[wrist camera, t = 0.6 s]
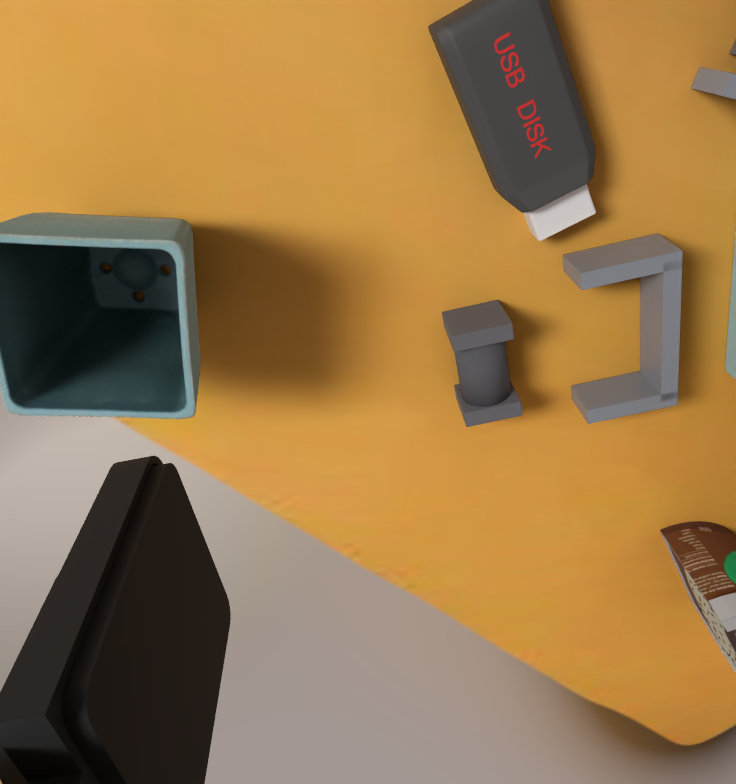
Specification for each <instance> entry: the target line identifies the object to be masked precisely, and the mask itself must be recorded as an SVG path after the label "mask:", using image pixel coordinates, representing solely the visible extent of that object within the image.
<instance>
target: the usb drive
mask: <svg viewBox="0 0 736 784" xmlns="http://www.w3.org/2000/svg"><path fill="white" fill-rule="evenodd" d="M428 28H429V31H430V34H431V36H432V39H433V41H434V44H435V46H436V49H437V51H438V54H439V56H440V58H441V61H442V63H443V66H444V68H445V71H446V73H447V76H448V78H449V80H450V83H451V85H452V88H453V90H454V93H455V95H456V97H457V100H458V102H459V105H460V107H461V110H462V112H463V114H464V117H465V119H466V122H467V124H468V127H469V129H470V131H471V134H472V136H473V139H474V141H475V144H476V146H477V148H478V151H479V153H480V156H481V158H482V161H483V163H484V165H485V168H486V170H487V173H488V175H489V178H490V180H491V182H492V185H493V187H494V189H495V190H496V191H497V192H498V193H499V194H500V195H501V196H502V197H503V198H504V199H505V200H507V201H508V202H509V203H510V204H512V205H513V206H514V207H515V208H517V209H518V210H519V211H521V212H522V213H523V214H524V216H525V219H526V221H527V224H528V226H529V229H530V231H531V233H532V234H533V235H534V236H535V237H536V238H537V239H538V241H541V240H543V239H545V238H547V237H549V236H551V235H553V234H555V233H557V232H559V231H561V230H563V229H565V228H567V227H569V226H571V225H573V224H575V223H577V222H579V221H581V220H583V219H585V218H587V217H589V216H591V215H593V214H595V213H596V210H595V208H594V205H593V202H592V199H591V196H590V193H589V190H588V187H587V183H588V182H589V181H590V180H591V179H592V177H593V172H594V162H595V145H594V142H593V139H592V135H591V132H590V129H589V126H588V123H587V120H586V117H585V114H584V110H583V107H582V104H581V101H580V98H579V95H578V92H577V89H576V85H575V82H574V79H573V76H572V73H571V70H570V67H569V63H568V60H567V57H566V54H565V51H564V48H563V45H562V42H561V38H560V35H559V32H558V29H557V26H556V23H555V20H554V17H553V13H552V10H551V7H550V4H549V1H548V0H472V1H470V2H469V3H467V4H465V5H464V6H462V7H460V8H458V9H457V10H455V11H453V12H452V13H450V14H448V15H446V16H445V17H443V18H441V19H440V20H438V21H436V22H434V23H433V24H431V25H429V26H428Z"/></svg>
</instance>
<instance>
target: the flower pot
mask: <svg viewBox="0 0 736 784" xmlns="http://www.w3.org/2000/svg"><path fill="white" fill-rule="evenodd" d="M104 263H108V264H109V265H110V266H111V271H109V272H108V271H105V270H104V269H103V264H104ZM163 265H167V266H169V267H170V269H171V272H170V273H169V274H165V273H163V272H162V270H161V268H162V266H163ZM138 291H139V292H142V293H143V294H144V299H142V300H139V299H137V298H136V297H135V293H136V292H138ZM200 363H201V353H200V342H199V329H198V316H197V301H196V286H195V269H194V251H193V232H192V228H191V226H190V224H189V223H188V222H187V221H185V220H183V219H176V218H150V217H126V216H104V215H85V214H67V213H32V214H27V215H23V216H19V217H16V218H13V219H11V220H8V221H4V222H1V223H0V392H1V396H2V400H3V402H4V405H5V407H6V409H7V410H8V411H9V412H10V413H12V414H17V415H24V416H90V417H94V416H96V417H105V416H106V417H132V418H160V419H185V418H190V417H193V416H194V415H195V412H196V403H197V394H198V384H199V375H200Z"/></svg>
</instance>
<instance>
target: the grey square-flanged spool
mask: <svg viewBox="0 0 736 784" xmlns="http://www.w3.org/2000/svg"><path fill="white" fill-rule="evenodd" d="M442 316H443V322H444V327H445V330H446V332H447V335H448V337H449V340H450V343H451V345H452V348H453V350H454V352H455V357H456V363H457V370H458V376H459V382H460V384H458V385H454V387H455V392H456V398H457V401H458V404H459V407H460V410H461V413H462V415H463V418H464V421H465V424H466V427H470V426H474V425H479V424H484V423H488V422H493V421H498V420H502V419H507V418H512V417H516V416H521V415H522V407H521V401H520V399H519V397H518V395H517V393H516V391H515V389H514V387H513V385H512V383H511V381H510V377H509V369H508V360H507V352H506V343H505V341H508V340H513V339H514V334H513V325H512V322H511V320H510V319H509V317H508V315H507V314H506V312H505V310H504V309H503V307H502V305H501V304H500V302H499V301H498V300H494V301H489V302H485V303H481V304H476V305H472V306H467V307H463V308H458V309H454V310H449V311H445V312H442Z"/></svg>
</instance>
